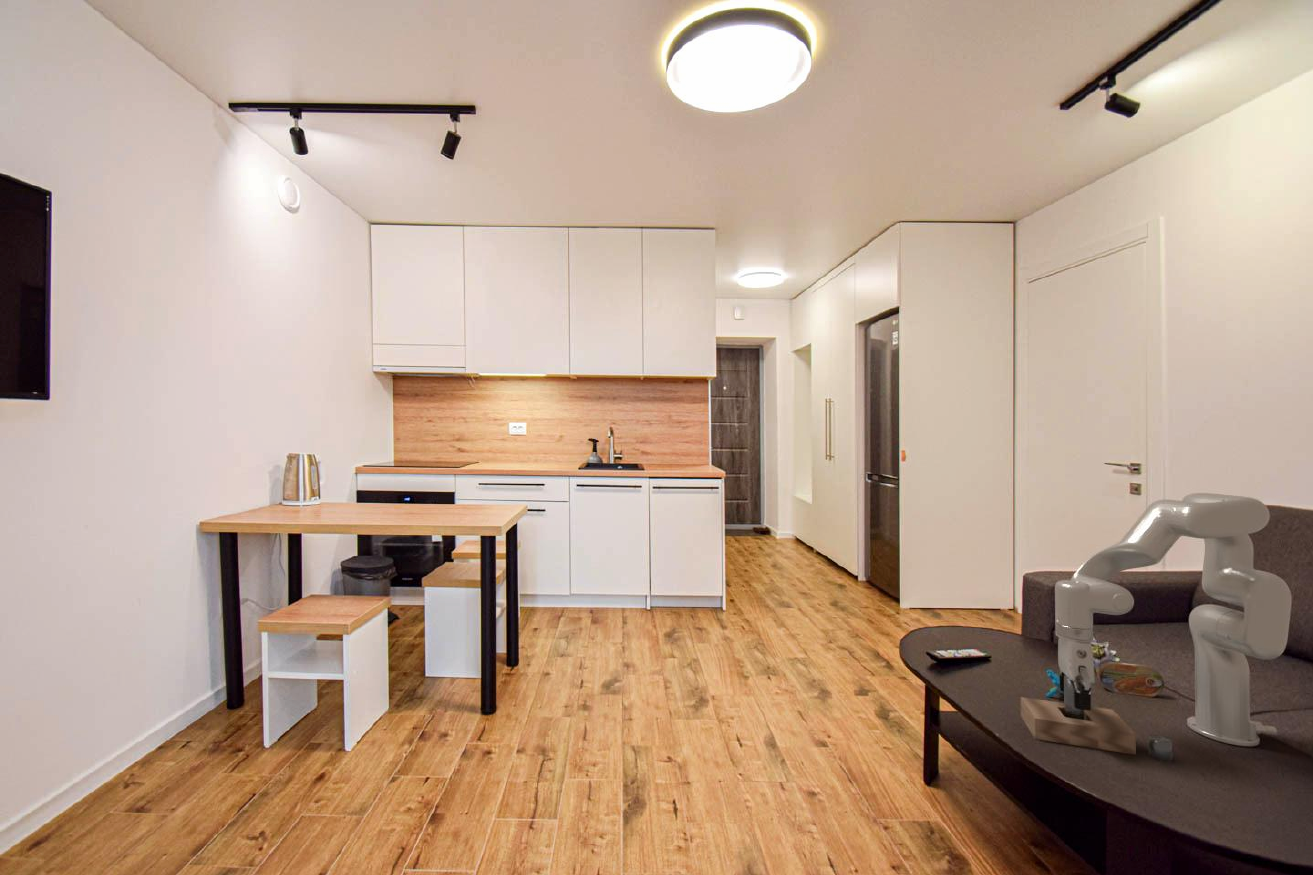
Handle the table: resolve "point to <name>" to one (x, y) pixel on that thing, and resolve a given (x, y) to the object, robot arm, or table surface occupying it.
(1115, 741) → the hole block
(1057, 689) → the gear
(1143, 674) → the tin
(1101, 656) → the passion flower
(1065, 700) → the long pin
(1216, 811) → the table surface
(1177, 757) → the table surface
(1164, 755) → the short pin
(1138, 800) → the table surface
